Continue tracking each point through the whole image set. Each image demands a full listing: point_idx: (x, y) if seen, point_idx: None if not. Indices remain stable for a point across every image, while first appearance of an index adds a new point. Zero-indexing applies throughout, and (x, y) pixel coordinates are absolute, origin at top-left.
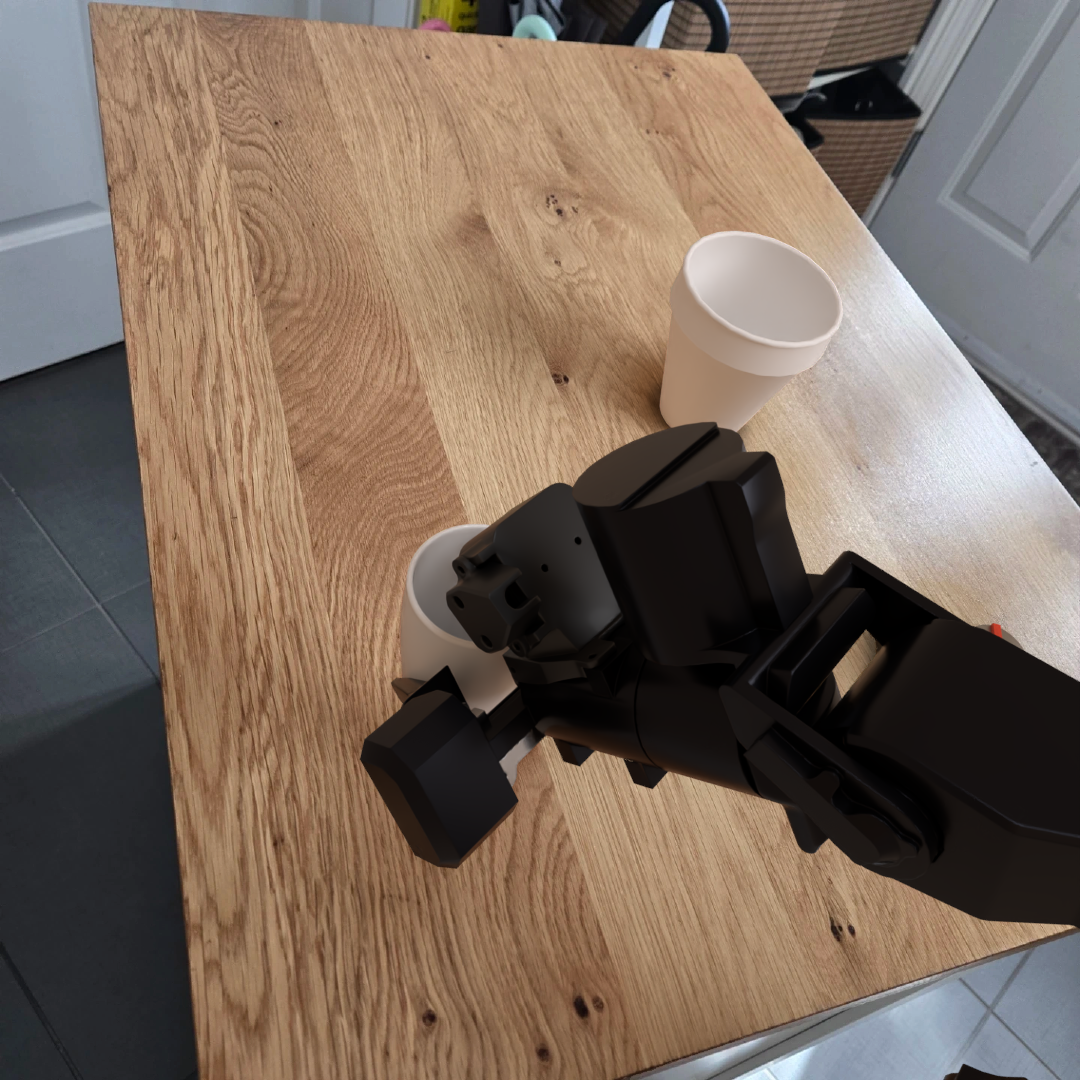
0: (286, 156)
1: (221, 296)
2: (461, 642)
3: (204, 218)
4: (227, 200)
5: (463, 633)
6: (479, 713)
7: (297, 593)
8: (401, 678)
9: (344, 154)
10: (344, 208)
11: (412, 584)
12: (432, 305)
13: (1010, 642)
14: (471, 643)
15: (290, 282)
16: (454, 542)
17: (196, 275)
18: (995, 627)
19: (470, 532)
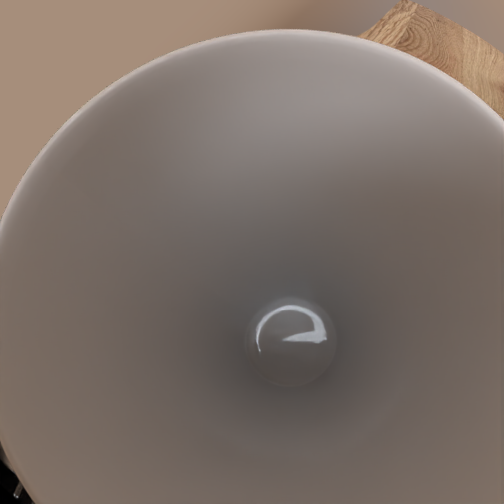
0: (437, 27)
1: (379, 39)
2: None
3: (390, 21)
4: (404, 22)
5: (342, 293)
6: (24, 502)
7: None
8: None
9: (462, 39)
10: (454, 48)
11: (64, 129)
12: (479, 97)
13: None
14: (6, 451)
15: (415, 50)
16: (362, 108)
17: (373, 30)
18: None
19: (420, 96)
